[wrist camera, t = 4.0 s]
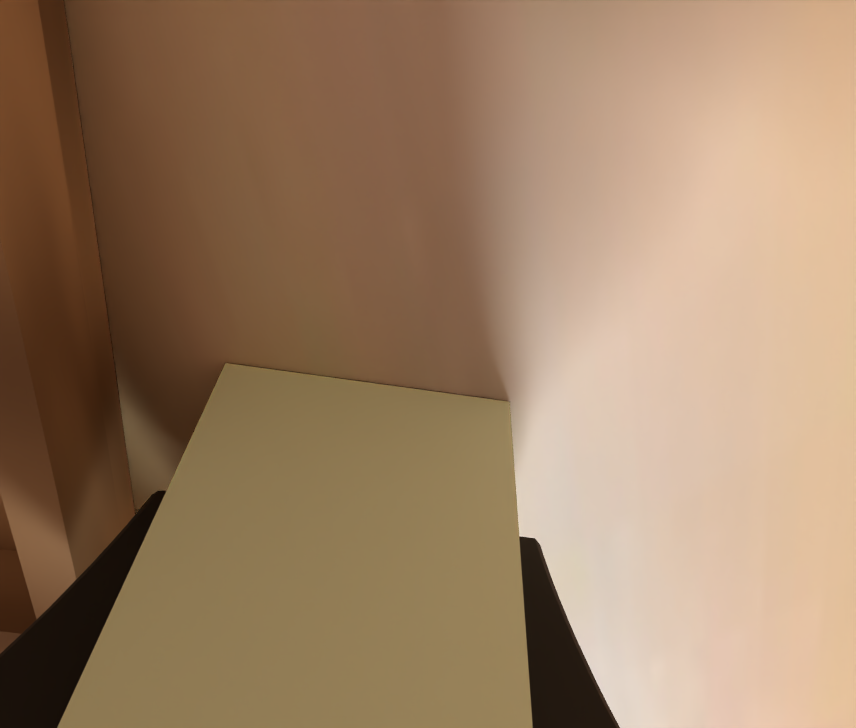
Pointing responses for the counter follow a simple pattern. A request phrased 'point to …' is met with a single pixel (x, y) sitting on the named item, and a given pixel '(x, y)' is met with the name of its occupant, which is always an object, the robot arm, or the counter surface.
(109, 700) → the sage block
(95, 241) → the walnut tray
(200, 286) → the counter surface
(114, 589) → the robot arm
